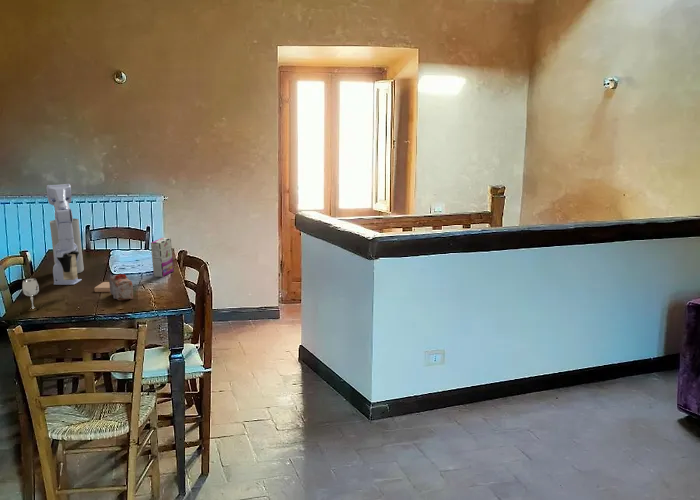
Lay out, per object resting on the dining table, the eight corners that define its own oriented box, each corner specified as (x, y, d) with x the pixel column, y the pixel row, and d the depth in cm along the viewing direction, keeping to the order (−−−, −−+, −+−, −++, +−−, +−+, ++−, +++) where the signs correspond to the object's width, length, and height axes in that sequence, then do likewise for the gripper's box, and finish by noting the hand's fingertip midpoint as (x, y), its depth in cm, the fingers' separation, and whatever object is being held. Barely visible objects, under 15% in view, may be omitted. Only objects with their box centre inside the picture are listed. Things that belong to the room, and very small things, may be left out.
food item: (136, 299, 270) (134, 276, 268) (116, 303, 265) (114, 279, 263) (126, 292, 281) (124, 269, 279) (107, 295, 276) (104, 272, 274)
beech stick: (63, 279, 275) (61, 256, 272) (68, 277, 279) (66, 254, 276) (73, 279, 274) (71, 256, 272) (77, 277, 278) (75, 254, 276)
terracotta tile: (94, 287, 281) (110, 287, 281) (103, 282, 290) (118, 282, 290) (94, 292, 282) (110, 292, 281) (103, 287, 291) (119, 286, 290)
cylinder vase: (77, 275, 310) (71, 222, 304) (50, 275, 310) (44, 223, 305) (88, 268, 322) (82, 218, 317) (62, 269, 322) (57, 218, 317)
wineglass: (28, 308, 260) (24, 278, 258) (43, 307, 261) (40, 277, 258) (22, 312, 255) (18, 282, 252) (38, 311, 255) (34, 281, 253)
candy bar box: (164, 271, 315) (161, 237, 312) (174, 271, 314) (171, 237, 311) (152, 277, 304) (150, 242, 301) (162, 277, 303) (160, 242, 300)
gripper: (64, 235, 280) (68, 266, 283) (47, 242, 266) (51, 274, 269) (81, 235, 280) (84, 266, 283) (65, 242, 266) (68, 274, 269)
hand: (69, 270), depth 276 cm, fingers closed on beech stick, 4 cm apart
